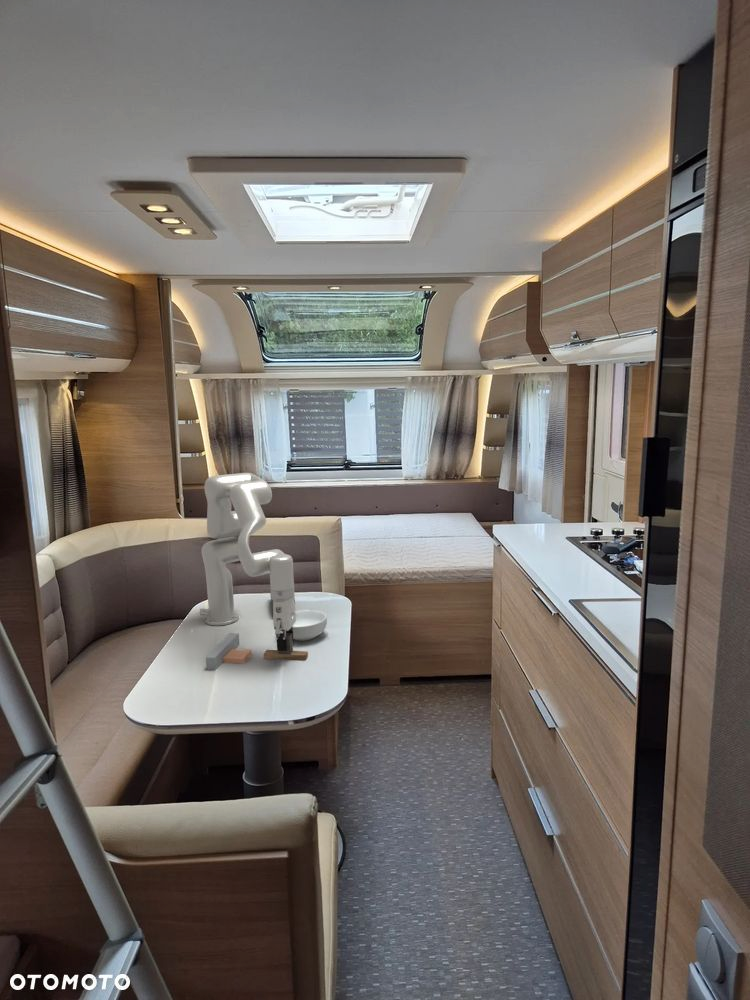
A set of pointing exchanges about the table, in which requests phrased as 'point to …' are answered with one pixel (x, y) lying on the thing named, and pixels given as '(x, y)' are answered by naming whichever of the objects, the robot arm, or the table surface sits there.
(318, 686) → the table surface
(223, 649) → the stop rail
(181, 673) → the table surface
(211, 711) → the table surface
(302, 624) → the cereal bowl
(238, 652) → the tile
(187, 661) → the table surface
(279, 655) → the scraper
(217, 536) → the robot arm
